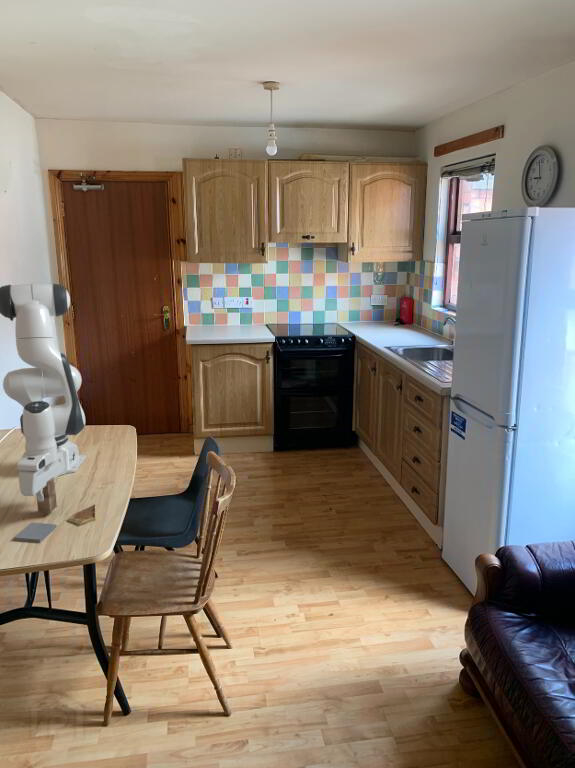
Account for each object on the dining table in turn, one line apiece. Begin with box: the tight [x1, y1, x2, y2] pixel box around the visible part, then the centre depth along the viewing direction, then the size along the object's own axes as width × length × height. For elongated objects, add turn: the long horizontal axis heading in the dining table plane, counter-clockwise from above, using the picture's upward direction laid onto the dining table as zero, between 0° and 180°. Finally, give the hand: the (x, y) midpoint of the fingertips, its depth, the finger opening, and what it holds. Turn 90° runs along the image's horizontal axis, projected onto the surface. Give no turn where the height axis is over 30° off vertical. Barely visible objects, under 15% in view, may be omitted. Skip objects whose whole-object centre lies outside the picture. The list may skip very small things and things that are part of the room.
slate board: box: [13, 522, 58, 544], centre depth 170 cm, size 2×8×9 cm
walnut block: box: [36, 477, 58, 513], centre depth 181 cm, size 4×4×10 cm
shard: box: [67, 503, 96, 526], centre depth 181 cm, size 11×8×2 cm
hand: (46, 496), depth 181 cm, fingers closed on walnut block, 4 cm apart
